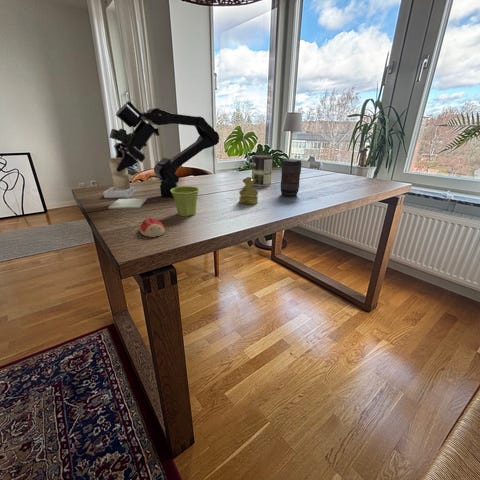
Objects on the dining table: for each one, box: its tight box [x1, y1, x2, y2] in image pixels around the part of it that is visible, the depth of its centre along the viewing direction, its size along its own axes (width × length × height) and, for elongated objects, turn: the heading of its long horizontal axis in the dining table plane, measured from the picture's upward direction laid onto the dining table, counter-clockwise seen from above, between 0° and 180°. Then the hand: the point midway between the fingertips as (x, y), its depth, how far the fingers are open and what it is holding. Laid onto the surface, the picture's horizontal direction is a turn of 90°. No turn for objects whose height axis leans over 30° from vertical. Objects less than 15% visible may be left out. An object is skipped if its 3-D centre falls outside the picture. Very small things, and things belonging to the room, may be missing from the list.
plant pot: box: [170, 185, 200, 217], centre depth 89 cm, size 9×9×9 cm
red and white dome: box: [139, 217, 166, 238], centre depth 75 cm, size 7×10×4 cm
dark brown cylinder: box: [280, 159, 303, 198], centre depth 111 cm, size 8×8×15 cm
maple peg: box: [108, 157, 131, 190], centre depth 97 cm, size 6×6×11 cm
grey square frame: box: [102, 186, 136, 199], centre depth 112 cm, size 10×10×2 cm
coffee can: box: [251, 154, 274, 187], centre depth 131 cm, size 10×10×14 cm
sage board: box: [107, 198, 148, 210], centre depth 101 cm, size 11×11×1 cm
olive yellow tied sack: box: [239, 176, 259, 206], centre depth 102 cm, size 7×7×10 cm
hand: (115, 169), depth 96 cm, fingers closed on maple peg, 6 cm apart
